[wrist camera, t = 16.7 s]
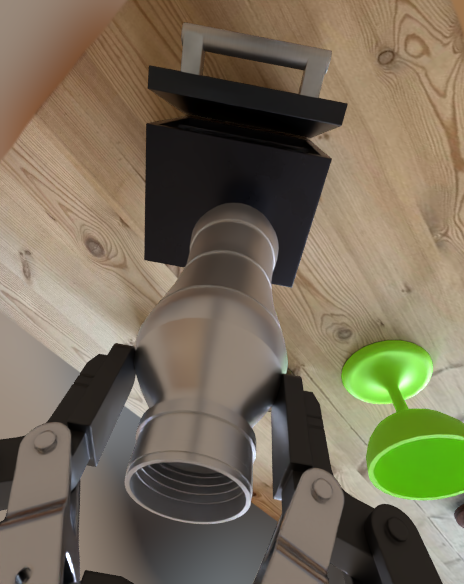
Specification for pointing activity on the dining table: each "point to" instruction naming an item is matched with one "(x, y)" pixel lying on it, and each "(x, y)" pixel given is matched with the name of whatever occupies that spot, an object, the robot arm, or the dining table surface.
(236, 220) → the silver bottle
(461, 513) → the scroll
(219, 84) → the oven door
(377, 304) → the dining table surface
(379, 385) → the wineglass
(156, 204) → the oven
